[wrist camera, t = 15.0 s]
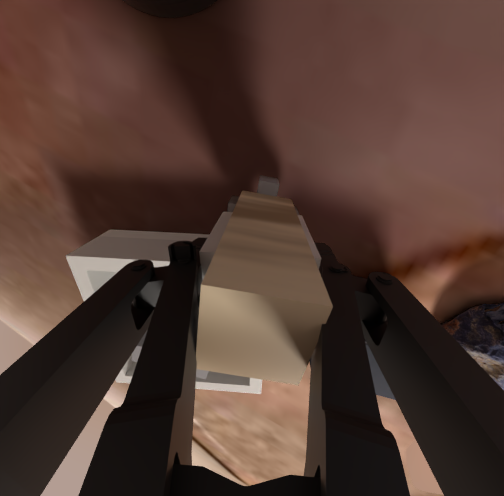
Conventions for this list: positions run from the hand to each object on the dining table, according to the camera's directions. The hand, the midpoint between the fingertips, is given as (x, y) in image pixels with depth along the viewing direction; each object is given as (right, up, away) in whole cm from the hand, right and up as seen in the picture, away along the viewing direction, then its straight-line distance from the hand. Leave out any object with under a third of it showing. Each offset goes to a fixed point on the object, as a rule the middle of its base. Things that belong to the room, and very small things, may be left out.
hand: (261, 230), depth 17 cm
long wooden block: (0, +2, +4) cm, 4 cm away
